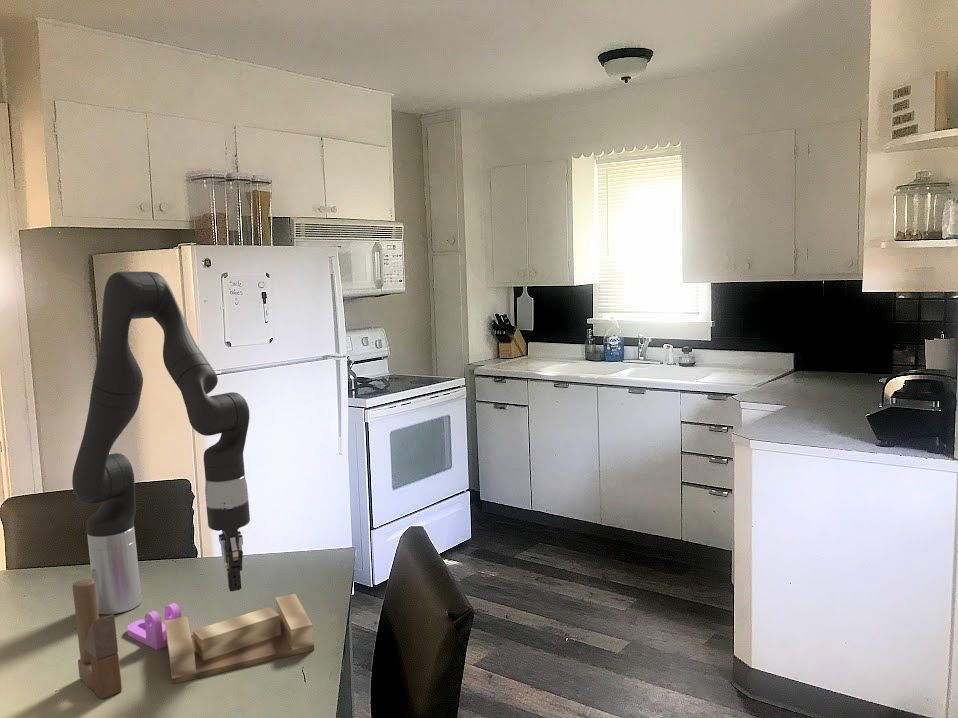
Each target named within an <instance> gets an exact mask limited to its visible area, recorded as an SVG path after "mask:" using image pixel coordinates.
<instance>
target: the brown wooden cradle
mask: <svg viewBox="0 0 958 718" xmlns="http://www.w3.org/2000/svg"><path fill="white" fill-rule="evenodd" d="M274 599H275V600H274V601H275V610H276V611H275V612H276V613H277V614H278V615H279V616H280V629H281V635H279V636H276V637H273V638H270V639H267V640H264V641H261V642H258V643H255V644H252V645H249V646H246V647H243V648H240V649H237V650H234V651H231V652H228V653H225V654H222V655H219V656H216V657H213V658H210V659H207V660H204V661H203V660H202V659H201V658H200V657H199V655H198V654H197V653H196V652H195V650H194V639H193V634H191V630H190V625H189V621H188V616H186V615H185V616H181V618H176V619H171V620H166V621H165V620H164V624H165V627H166V637H167V646H166V647H167V653H168V660H169V666H170V667H169V669H170V675H171V681H172V682H171V683H172V685H174V684H177V683H178V684H179V683H184V682H188V681H191V680H194V679H200V678H203V677H208V676H213V675H215V674H216V675H217V674H220V673H223V672H224V673H225V672H227V671H228V672H229V671H232V670H235V669H236V670H237V669H241V668H245V667H250V666H252V665H253V666H254V665H257V664H261V663H262V664H263V663H265V662H270V661H274V660H278V659H283V658H286V657H291V656H294V655H298V654H304V653H307V652H310V651H314V650H315V641H314V628H313V623H312V622H311V619H310V617H309V616H308V614H307V612H306V610H305V609H304V606H303V605H302V603H301V602H300V600H299V598H298V596H297V594H296V593H291V594H286V595H282V596H277V597H274Z"/></svg>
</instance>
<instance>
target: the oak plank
mask: <svg viewBox="0 0 958 718" xmlns="http://www.w3.org/2000/svg"><path fill="white" fill-rule="evenodd" d="M192 635H193V639H194V650H195V652H196V653H197V654H198V655H199V657H200V658H201V659H202V660H203V661H204V660H207V659H210V658H213V657H216V656H219V655H222V654H225V653H228V652H231V651H234V650H237V649H240V648H243V647H246V646H249V645H252V644H255V643H258V642H261V641H264V640H267V639H270V638H273V637H276V636H279V635H281V629H280V616H279V615H278V614H277V613H276V611H275V610H274V609H273V608H271V607H270V606H268V607H264V608H262V609H257V610H255V611H251V612H248V613H244V614H242V615H239V616H235V617H232V618H229V619H225V620H223V621H219V622H216V623H212V624H210V625H206V626H203V627H200V628H197V629H194V630H192Z"/></svg>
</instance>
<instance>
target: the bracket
mask: <svg viewBox="0 0 958 718" xmlns="http://www.w3.org/2000/svg"><path fill="white" fill-rule="evenodd" d="M181 617H182V611H181V609H180V607H179V605H178V603H175V602H173V603H170V604H168V605H165V606H164V623H163V622H162V619H161V617H160V614H159V613H158V612H157V610H152V611H150V612H147V613H145V614H144V618H142V619H139V620H136V621H133V622H131V623H129V624H128V626H127V628H126V629H127V635H128V636H129V637H131V638H133V639H135V640H136V641H139V642H141V643H142V644H145V645H146V646H148V647H151V648H152V649H154V650H156V651H158V650H160V649H163V648H165V647H167V637H166V627H165V621H166V620H171V619H176V618H181Z"/></svg>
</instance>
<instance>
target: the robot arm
mask: <svg viewBox="0 0 958 718" xmlns="http://www.w3.org/2000/svg"><path fill="white" fill-rule="evenodd" d="M149 318H153V320H155V321H156V323H157V324H158V325H159V326H160V327H161V329H162V331H163V346H162V347H163V348H162V358H163V359H162V360H163V363H164V366H165V368H166V371H167V372H168V375H170V377H171V379H172V380H173V382H174V383H175V385H176V386H177V387H178V389H179V391H180V393H181V395H182V399H183V403H184V406H185V408H186V409H185V410H186V413H187V417H188V422H189V424H190V426H191V427H192V429H193V430H194V431H195V432H196V433H198V434H200V435H202V436H205V437H210V436H215V435H219V434H220V438H219V440H218V441H217V442H215V444H213V445H211V446H209V447H208V448H206V449H205V450H204V452H203V466H204V467H203V468H204V479H205V485H204V494H205V506H206V507H205V508H206V515H207V526H208V529H211V530H212V531H217V532H219V531H221V533H220V534H218V542H219V544H220V550H221V551H220V553H221V557H222V560H223V563H224V564H225V565H224V568H225V571H226V574H227V575H226V576H227V587H228V590H229V592H236V591H241V589H242V579H241V571H243V557H244V556H243V554H244V551H243V544H244V538H243V534H241V533H242V532H241V530H239V529H241V528H242V527H246V526H247V525H248V524H249V523H250V521H251V516H250V505H249V493H248V484H247V479H246V471H245V460H244V451H245V446H246V442H247V441H246V440H247V436H248V430H249V426H250V425H249V424H250V408H249V405H248V402H247V401H246V399H245V397H244V396H242V395H241V394H240V393H238V392H235V391H233V392H231V391H229V392H225V393H220V394H215V395H208V394H210V393H211V392H212V391H213V390H214V389H215V388H216V387H217V386H218V385H217V384H218V382H219V381H218V380H219V379H218V376H217V373H216V371H215V370H214V368H213V367H212V366H211V364H210V362H209V361H208V360H207V358H206V357H205V355H204V354H203V352H202V350H201V349H200V348H199V346H198V344H197V343H196V341H195V339H194V337H193V335H192V334H191V331H190V329H189V326H188V325H187V322H186V319H185V318H184V315H183V313H182V310H181V308H180V305H179V304H178V302H177V299H176V297H175V295H174V292H173V291H172V288H171V287H170V285H169V283H168V282H167V280H166V279H165V277H164V276H163V275H161V274H160V273H158V272H153V271H116V272H114V273H112V274H111V275H109V277H108V278H107V281H106V283H105V287H104V290H103V297H102V311H101V323H100V324H101V328H100V337H99V338H100V339H99V346H98V347H99V348H98V354H97V359H96V365H95V369H94V371H95V372H94V375H93V380H92V386H91V391H90V397H89V399H90V400H89V404H88V405H89V406H88V411H87V418H86V421H85V426H84V431H83V435H82V438H81V443H80V446H79V450H78V453H77V456H76V460H75V463H74V467H73V471H72V478H71V479H72V480H71V483H72V484H71V485H72V490H73V494H74V496H75V498H76V499H77V500H78V502H79V503H82V504H84V505H93V504H94V505H95V504H98V503H101V502H102V505H101V506H100V507H99V508H98V509H97V511H95V513H94V514H92V515H91V516H90V517H89V518H88V519H87V520H86V524H85V526H86V534H87V536H86V537H87V544H88V554H89V562H90V579H93V580H94V581H95V586H96V596H97V605H98V614H99V615H112V614H114V615H115V614H116V615H117V614H120V613H124V612H128V611H130V610H133V609H135V608H137V607H138V606H139V605H141V603H142V599H143V598H142V590H141V581H140V571H139V561H138V560H139V559H138V552H137V551H138V550H137V542H136V534H135V533H136V532H135V531H136V530H135V516H136V509H137V507H136V485H135V474H134V469H133V466H132V463H131V462H130V460H129V459H128V457H127V456H126V455H124V454H122V453H115V452H114V453H111V452H110V451H111V450H112V447H113V445H114V443H115V442H116V441H117V439H119V436H120V435H121V434H122V433H123V431H124V430H125V429H126V427H127V426H128V425H129V424H130V422H131V421H132V420H133V418H134V416H135V414H136V413H137V411H138V408H139V405H140V401H141V396H142V391H143V383H144V376H143V372H142V370H141V368H140V366H139V363H138V361H137V359H136V357H135V355H134V353H133V352H132V350H131V347H130V344H129V331H130V326H131V325H130V324H131V322H132V320H133V319H134V320H135V319H136V320H137V319H138V320H139V319H149Z"/></svg>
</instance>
